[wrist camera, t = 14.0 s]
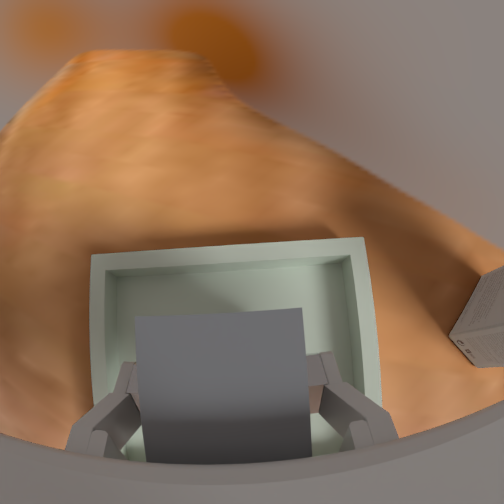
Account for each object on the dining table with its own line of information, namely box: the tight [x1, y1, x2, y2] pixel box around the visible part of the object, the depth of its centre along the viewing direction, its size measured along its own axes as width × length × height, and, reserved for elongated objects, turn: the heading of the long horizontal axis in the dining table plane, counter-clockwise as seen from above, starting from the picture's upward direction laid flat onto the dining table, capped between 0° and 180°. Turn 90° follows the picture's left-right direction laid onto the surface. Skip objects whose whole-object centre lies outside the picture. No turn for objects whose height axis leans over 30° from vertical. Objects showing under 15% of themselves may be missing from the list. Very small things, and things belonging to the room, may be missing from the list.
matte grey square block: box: [135, 307, 312, 465], centre depth 12 cm, size 5×5×8 cm
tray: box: [89, 237, 382, 462], centre depth 17 cm, size 16×14×2 cm
